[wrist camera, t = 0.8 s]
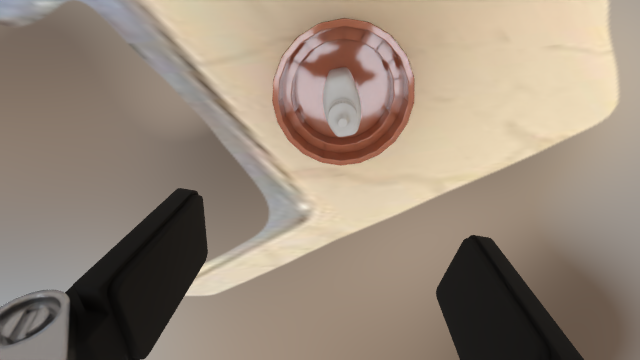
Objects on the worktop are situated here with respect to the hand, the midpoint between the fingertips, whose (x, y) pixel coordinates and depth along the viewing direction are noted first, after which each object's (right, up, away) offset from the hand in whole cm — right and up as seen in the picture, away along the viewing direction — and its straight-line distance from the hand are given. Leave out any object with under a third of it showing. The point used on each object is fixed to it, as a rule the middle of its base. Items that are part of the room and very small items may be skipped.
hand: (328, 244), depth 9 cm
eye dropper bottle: (+2, +13, +21) cm, 25 cm away
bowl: (+2, +13, +21) cm, 25 cm away
